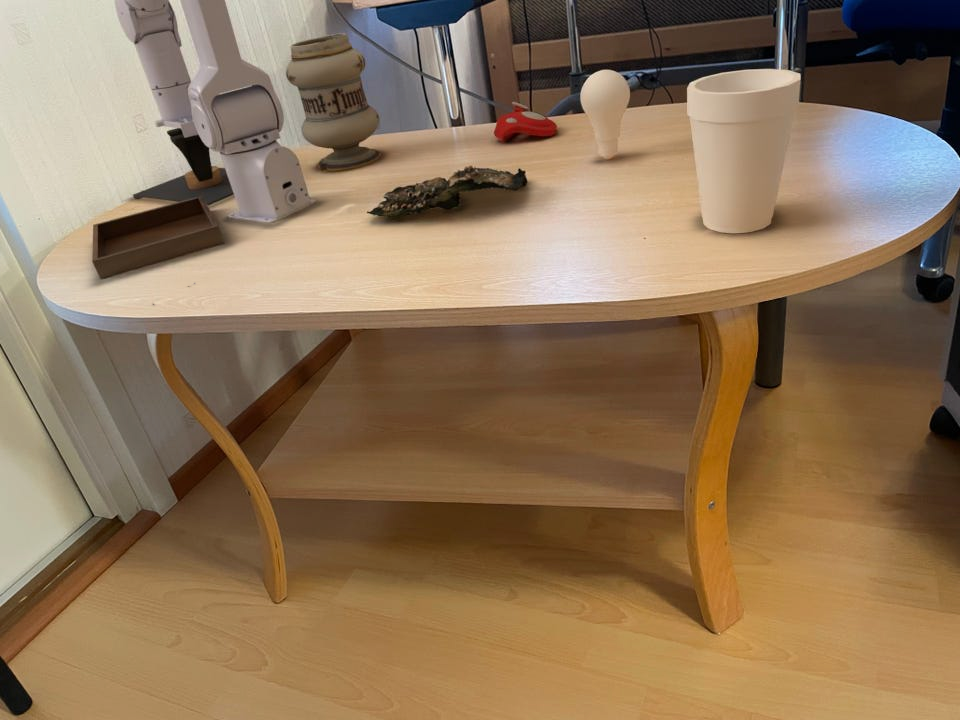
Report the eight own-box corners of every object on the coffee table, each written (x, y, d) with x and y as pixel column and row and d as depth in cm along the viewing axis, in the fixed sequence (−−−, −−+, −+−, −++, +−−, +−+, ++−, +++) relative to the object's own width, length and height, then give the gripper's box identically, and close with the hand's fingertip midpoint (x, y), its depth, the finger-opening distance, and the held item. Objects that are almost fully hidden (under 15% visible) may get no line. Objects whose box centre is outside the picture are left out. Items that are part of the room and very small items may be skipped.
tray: (225, 246, 85) (218, 225, 83) (101, 282, 80) (92, 261, 79) (208, 213, 98) (201, 195, 96) (101, 243, 93) (92, 224, 92)
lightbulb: (639, 152, 92) (636, 63, 86) (621, 167, 88) (617, 75, 82) (596, 151, 95) (591, 65, 90) (577, 165, 91) (570, 77, 85)
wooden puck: (229, 179, 110) (224, 166, 109) (201, 190, 107) (197, 177, 106) (209, 177, 113) (205, 165, 112) (182, 188, 110) (177, 175, 108)
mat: (282, 175, 109) (281, 172, 109) (209, 207, 100) (207, 203, 100) (206, 170, 120) (205, 166, 120) (134, 198, 111) (132, 194, 111)
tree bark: (350, 201, 79) (379, 153, 91) (367, 249, 82) (393, 197, 94) (515, 171, 75) (523, 126, 87) (525, 223, 78) (532, 173, 90)
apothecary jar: (296, 170, 111) (261, 48, 102) (353, 148, 118) (326, 32, 109) (344, 176, 103) (311, 45, 94) (402, 152, 111) (377, 28, 101)
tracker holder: (572, 123, 106) (518, 123, 100) (564, 151, 108) (512, 153, 103) (526, 96, 113) (475, 95, 108) (520, 124, 116) (470, 124, 111)
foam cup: (757, 246, 63) (766, 96, 56) (668, 230, 69) (666, 92, 62) (806, 211, 68) (820, 69, 61) (719, 198, 74) (723, 68, 67)
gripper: (140, 86, 107) (173, 173, 114) (145, 96, 95) (182, 193, 102) (187, 76, 109) (216, 162, 116) (197, 85, 97) (230, 180, 104)
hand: (203, 175), depth 109 cm, fingers closed on wooden puck, 5 cm apart
